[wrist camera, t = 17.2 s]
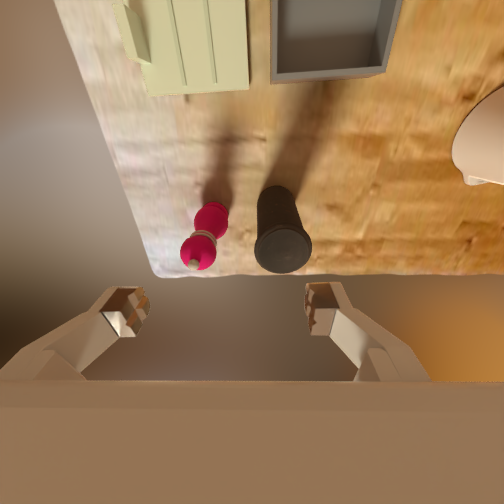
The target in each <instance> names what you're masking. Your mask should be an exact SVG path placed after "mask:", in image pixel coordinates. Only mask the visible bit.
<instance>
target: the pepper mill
mask: <svg viewBox="0 0 504 504" xmlns="http://www.w3.org/2000/svg"><path fill="white" fill-rule="evenodd" d="M194 227H195V230H196V231H195V232H194V233H192V234H191V236H190V238H188V239H186V240H185V241H184V243H183V244H182V246H181V250H180V256H181V259H182V261H183V263H184V264H185V265H186V266H187V267H188V268H189V269H190V270H204V269H206V268H208V267H210V266H211V265H212V264H213V262H214V261H215V258H216V253H217V252H216V246H217V241H216V239H219V238H220V237H222V236H223V235H224V234H225V232H226V230H227V228H228V212H227V210H226V208H225V207H224V206H223V205H222V204H220V203H217V202H210V203H207V204H206V205H204V207H203V208H202V209H200V210H199V211H198V212H197V214H196V216H195V219H194Z"/></svg>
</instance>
